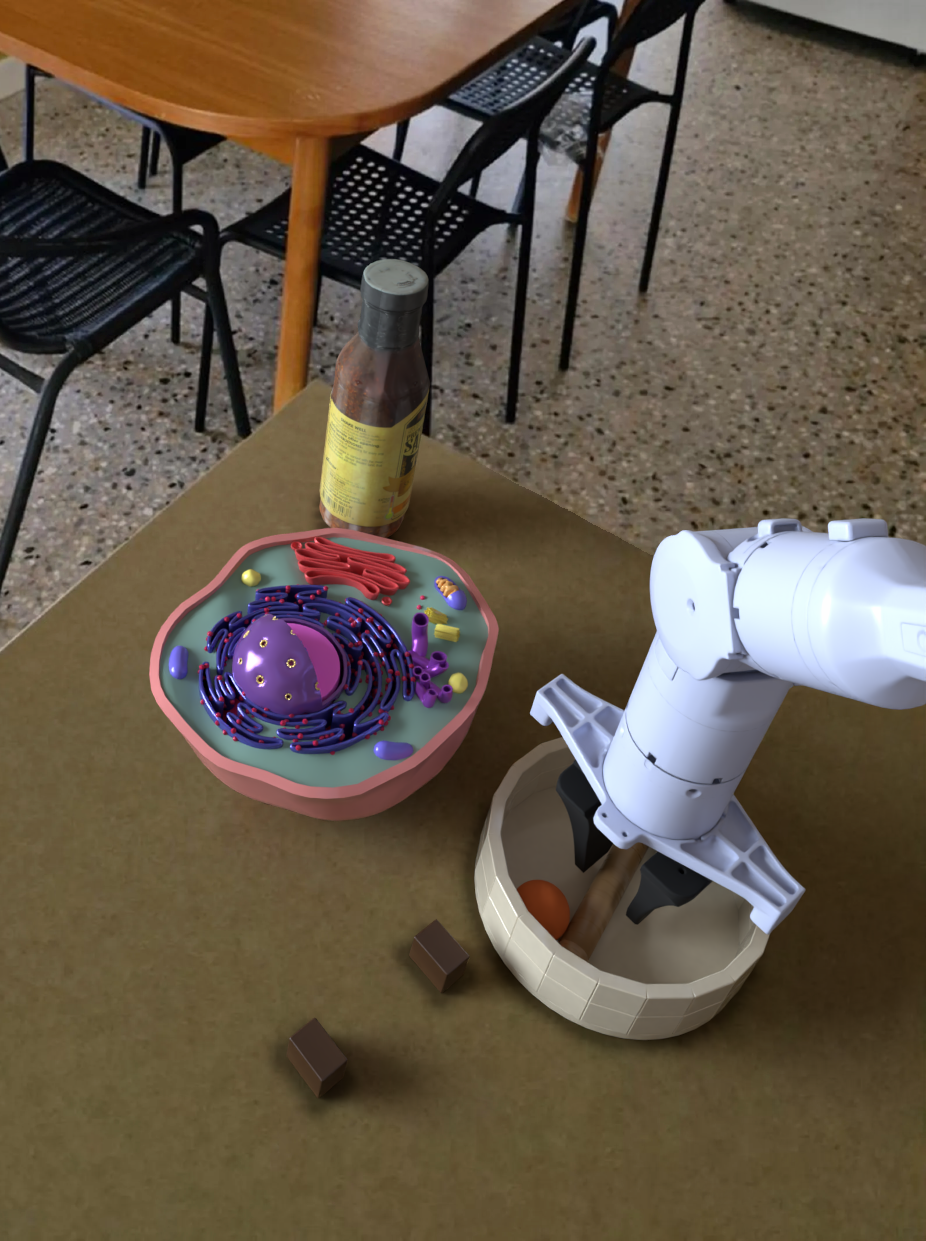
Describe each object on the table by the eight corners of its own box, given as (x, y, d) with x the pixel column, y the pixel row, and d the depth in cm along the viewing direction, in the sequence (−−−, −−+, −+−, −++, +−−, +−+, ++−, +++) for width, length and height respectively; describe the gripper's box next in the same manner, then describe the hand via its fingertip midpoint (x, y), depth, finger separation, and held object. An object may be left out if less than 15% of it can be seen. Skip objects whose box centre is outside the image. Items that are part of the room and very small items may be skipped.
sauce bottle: (408, 549, 85) (455, 315, 72) (317, 544, 85) (348, 308, 72) (402, 482, 90) (444, 252, 78) (315, 477, 90) (344, 246, 77)
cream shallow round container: (803, 926, 66) (832, 882, 63) (630, 1105, 59) (655, 1064, 56) (593, 736, 74) (611, 689, 71) (418, 871, 67) (431, 825, 64)
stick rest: (430, 937, 64) (436, 918, 63) (463, 975, 63) (470, 956, 61) (285, 1056, 59) (288, 1037, 58) (317, 1100, 58) (322, 1082, 57)
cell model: (542, 768, 72) (586, 644, 65) (247, 940, 63) (261, 817, 56) (372, 573, 83) (394, 448, 76) (99, 697, 74) (95, 568, 67)
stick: (587, 973, 61) (563, 949, 62) (569, 979, 63) (545, 955, 63) (671, 814, 69) (649, 792, 69) (654, 822, 70) (632, 801, 70)
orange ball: (589, 934, 63) (549, 935, 65) (572, 872, 63) (533, 874, 66) (546, 951, 61) (506, 951, 63) (529, 886, 62) (490, 888, 64)
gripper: (512, 665, 59) (464, 822, 68) (774, 903, 51) (681, 1048, 59) (608, 598, 63) (551, 755, 71) (867, 810, 54) (768, 959, 63)
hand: (616, 883), depth 65 cm, fingers open, 3 cm apart
